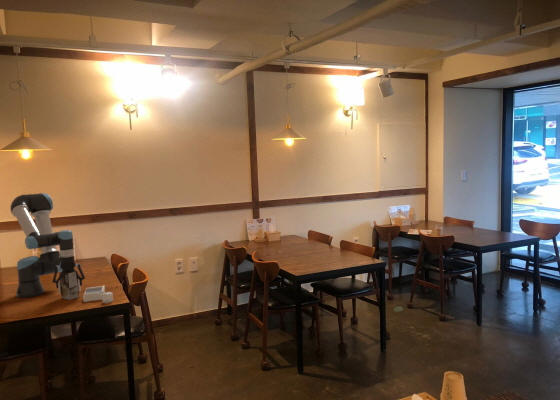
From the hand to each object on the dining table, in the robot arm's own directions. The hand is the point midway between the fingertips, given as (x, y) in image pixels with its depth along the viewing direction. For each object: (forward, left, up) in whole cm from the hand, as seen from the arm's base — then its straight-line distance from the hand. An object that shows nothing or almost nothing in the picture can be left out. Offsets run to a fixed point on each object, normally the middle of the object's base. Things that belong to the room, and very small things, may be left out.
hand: (69, 292), depth 261 cm
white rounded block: (+22, -19, -3) cm, 29 cm away
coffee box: (0, 0, -3) cm, 3 cm away
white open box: (+14, -6, -3) cm, 16 cm away
